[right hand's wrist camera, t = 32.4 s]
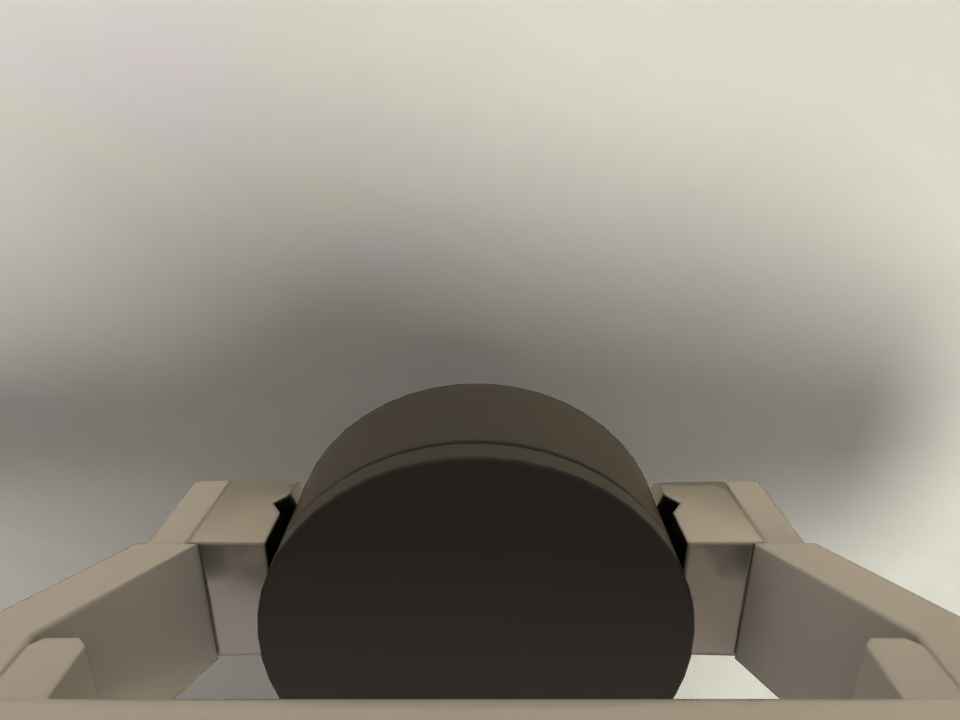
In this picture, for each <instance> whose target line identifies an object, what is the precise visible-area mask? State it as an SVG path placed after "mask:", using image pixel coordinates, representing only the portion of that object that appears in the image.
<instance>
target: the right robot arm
mask: <svg viewBox="0 0 960 720" xmlns="http://www.w3.org/2000/svg"><path fill="white" fill-rule="evenodd" d="M302 492H303V490H302V488H301V486H300V484H299V483H298V482H249V481H233V482H231V481H200V482H196V483H194V484H193V485H192V486H191V487H190V489H189V490H188V491H187V493H186V494H185V495H184V496H183V498H182V499H181V500H180V502H179V503H178V504H177V506H176V507H175V508H174V509H173V511H172V512H171V513H170V515H169V516H168V517H167V519H166V520H165V521H164V522H163V524H162V525H161V526H160V528H159V529H158V530H157V532H156V533H155V534H154V535H153V537H152V538H151V539H150V541H149V542H148V543H140V544H135V545H133V546H131V547H129V548H127V549H125V550H123V551H121V552H119V553H117V554H115V555H113V556H111V557H109V558H107V559H105V560H103V561H101V562H99V563H97V564H95V565H93V566H91V567H89V568H87V569H85V570H83V571H81V572H79V573H77V574H75V575H73V576H71V577H69V578H67V579H65V580H63V581H61V582H59V583H57V584H55V585H53V586H51V587H49V588H47V589H45V590H43V591H41V592H39V593H37V594H35V595H33V596H31V597H29V598H27V599H25V600H23V601H21V602H19V603H17V604H15V605H13V606H11V607H9V608H7V609H5V610H3V611H1V612H0V720H960V617H959V616H958V615H956V614H954V613H952V612H950V611H948V610H946V609H944V608H942V607H940V606H938V605H936V604H934V603H932V602H930V601H928V600H926V599H924V598H922V597H920V596H918V595H916V594H914V593H912V592H910V591H908V590H906V589H904V588H902V587H900V586H898V585H897V584H895V583H893V582H891V581H889V580H887V579H885V578H883V577H881V576H879V575H877V574H875V573H873V572H871V571H869V570H867V569H865V568H863V567H861V566H859V565H857V564H855V563H853V562H851V561H849V560H847V559H845V558H843V557H841V556H839V555H837V554H835V553H834V552H832V551H830V550H828V549H826V548H824V547H822V546H820V545H818V544H812V543H804V541H803V540H802V539H801V537H800V536H799V535H798V533H797V532H796V531H795V529H794V528H793V527H792V525H791V524H790V523H789V521H788V520H787V519H786V517H785V516H784V515H783V514H782V512H781V511H780V510H779V508H778V507H777V506H776V504H775V503H774V502H773V500H772V499H771V498H770V496H769V495H768V494H767V492H766V491H765V490H764V488H763V487H762V486H761V484H760V483H758V482H756V481H753V480H751V481H727V482H684V483H656V484H653V487H652V491H651V494H652V496H653V499H654V501H655V503H656V506H657V508H658V511H659V513H660V516H661V518H662V521H663V523H664V525H665V528H666V530H667V533H668V535H669V538H670V540H671V542H672V545H673V547H674V550H675V552H676V555H677V557H678V560H679V562H680V564H681V567H682V569H683V572H684V575H685V577H686V580H687V582H688V585H689V587H690V592H691V597H692V602H693V607H694V624H695V633H694V640H693V648H692V654H697V655H733V656H735V659H736V660H737V661H738V662H740V663H741V664H742V665H743V666H744V667H745V668H746V669H747V670H748V671H749V672H751V673H752V674H753V675H754V676H755V677H756V678H757V679H758V680H759V681H760V682H762V683H763V684H764V685H765V686H766V687H767V688H768V689H769V690H770V691H772V692H773V693H774V694H775V695H776V696H777V697H778V698H779V699H174V698H175V697H176V696H177V695H178V694H179V693H180V692H181V691H183V690H184V689H185V688H186V687H187V686H188V685H189V684H190V683H191V682H193V681H194V680H195V679H196V678H197V677H198V676H199V675H200V674H202V673H203V672H204V671H205V670H206V669H207V668H208V667H209V666H210V665H212V664H213V663H214V662H215V661H216V660H217V659H218V656H220V655H255V654H261V651H260V646H259V640H258V621H257V613H258V606H259V600H260V594H261V590H262V587H263V584H264V581H265V578H266V575H267V572H268V569H269V567H270V565H271V562H272V560H273V558H274V555H275V553H276V551H277V549H278V546H279V544H280V542H281V539H282V537H283V535H284V533H285V530H286V528H287V526H288V524H289V521H290V519H291V517H292V514H293V512H294V510H295V508H296V505H297V503H298V501H299V498H300V496H301V494H302Z"/></svg>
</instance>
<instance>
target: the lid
mask: <svg viewBox="0 0 960 720" xmlns="http://www.w3.org/2000/svg"><path fill="white" fill-rule="evenodd" d="M257 621H258V640H259V646H260V651H261V656H262V660H263V663H264V666H265V669H266V671H267V674H268V677H269V680H270V681H271V683H272V685H273V687H274V689H275V691H276V692H277V694H278V696H279V698H280V699H673V698H674V696H675V695H676V693H677V691H678V689H679V687H680V685H681V683H682V681H683V679H684V677H685V674H686V671H687V668H688V664H689V661H690V658H691V654H692V648H693V640H694V633H695V624H694V607H693V602H692V597H691V592H690V587H689V585H688V582H687V580H686V577H685V575H684V572H683V569H682V567H681V564H680V562H679V560H678V557H677V555H676V552H675V550H674V547H673V545H672V542H671V540H670V538H669V535H668V533H667V530H666V528H665V525H664V523H663V521H662V518H661V516H660V513H659V511H658V508H657V506H656V503H655V501H654V499H653V496H652V494H651V491H650V489H649V486H648V484H647V481H646V479H645V477H644V475H643V473H642V472H641V470H640V468H639V467H638V465H637V463H636V462H635V460H634V458H633V457H632V456H631V455H630V453H629V452H628V451H627V450H626V448H625V447H624V446H623V445H622V444H621V442H620V441H619V440H618V439H617V438H615V437H614V436H613V435H612V434H611V433H610V432H609V431H608V430H607V429H606V428H605V427H604V426H602V425H601V424H599V423H598V422H596V421H595V420H594V419H592V418H591V417H589V416H588V415H586V414H585V413H584V412H582V411H580V410H578V409H576V408H574V407H572V406H570V405H568V404H566V403H564V402H562V401H560V400H557V399H554V398H552V397H549V396H546V395H543V394H541V393H538V392H534V391H529V390H525V389H521V388H516V387H512V386H503V385H493V384H458V385H450V386H443V387H435V388H431V389H427V390H424V391H420V392H416V393H412V394H409V395H406V396H404V397H401V398H399V399H396V400H394V401H391V402H389V403H386V404H384V405H383V406H381V407H379V408H377V409H375V410H374V411H372V412H370V413H368V414H366V415H365V416H363V417H362V418H361V419H359V420H358V421H357V422H355V423H354V424H353V425H351V426H350V427H349V428H347V429H346V430H345V431H344V432H343V433H342V434H341V435H340V436H339V437H338V438H337V439H336V440H335V441H334V442H333V443H332V444H331V445H330V446H329V447H328V449H327V450H326V451H325V453H324V454H323V455H322V457H321V458H320V459H319V461H318V462H317V464H316V465H315V467H314V469H313V471H312V473H311V475H310V477H309V479H308V480H307V483H306V485H305V487H304V489H303V492H302V494H301V496H300V498H299V501H298V503H297V505H296V508H295V510H294V512H293V514H292V517H291V519H290V521H289V524H288V526H287V528H286V530H285V533H284V535H283V537H282V539H281V542H280V544H279V546H278V549H277V551H276V553H275V555H274V558H273V560H272V562H271V565H270V567H269V569H268V572H267V575H266V578H265V581H264V584H263V587H262V590H261V594H260V600H259V606H258V613H257Z"/></svg>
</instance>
